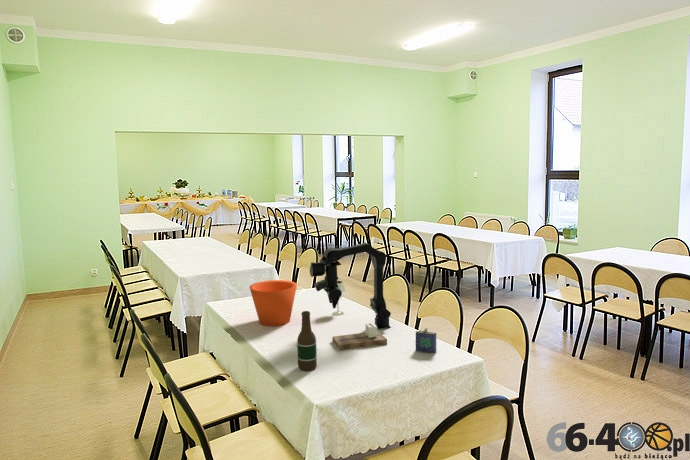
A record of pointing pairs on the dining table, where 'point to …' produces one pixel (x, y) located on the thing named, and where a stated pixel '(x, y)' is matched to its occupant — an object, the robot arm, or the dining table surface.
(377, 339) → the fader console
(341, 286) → the wineglass
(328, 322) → the dining table surface
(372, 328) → the fader knob
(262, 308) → the flowerpot
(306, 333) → the beer bottle
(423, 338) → the flask
